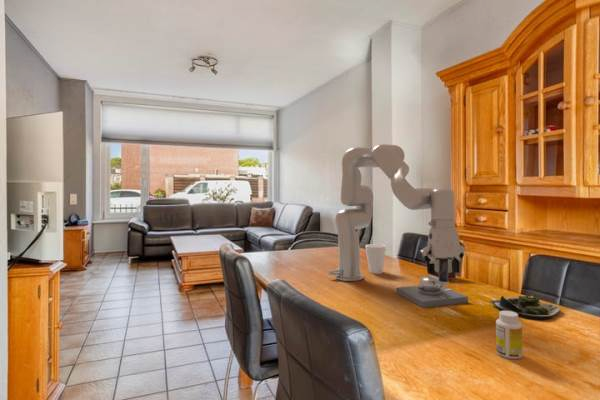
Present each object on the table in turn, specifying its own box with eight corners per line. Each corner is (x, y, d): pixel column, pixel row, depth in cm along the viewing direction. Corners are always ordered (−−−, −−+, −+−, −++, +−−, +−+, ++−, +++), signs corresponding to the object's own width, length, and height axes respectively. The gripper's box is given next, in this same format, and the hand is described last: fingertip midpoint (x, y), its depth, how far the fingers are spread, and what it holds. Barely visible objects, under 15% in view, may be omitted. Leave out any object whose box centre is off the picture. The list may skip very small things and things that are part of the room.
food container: (454, 275, 164) (454, 253, 164) (459, 278, 158) (458, 256, 157) (426, 275, 165) (426, 253, 165) (430, 278, 159) (430, 256, 159)
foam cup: (362, 271, 176) (361, 245, 175) (377, 269, 180) (377, 243, 179) (374, 275, 167) (373, 247, 167) (390, 273, 171) (389, 246, 171)
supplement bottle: (524, 353, 88) (524, 312, 87) (519, 362, 84) (519, 319, 83) (499, 347, 91) (499, 307, 91) (493, 355, 87) (492, 313, 87)
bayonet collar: (414, 287, 135) (413, 251, 135) (435, 285, 137) (435, 249, 137) (434, 298, 123) (434, 257, 122) (457, 295, 125) (457, 255, 124)
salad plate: (513, 297, 132) (513, 285, 131) (570, 310, 117) (570, 296, 116) (484, 308, 121) (484, 295, 121) (543, 324, 106) (543, 309, 106)
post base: (422, 307, 122) (422, 299, 122) (396, 292, 140) (396, 285, 140) (467, 302, 126) (467, 294, 126) (437, 288, 144) (437, 281, 144)
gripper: (426, 226, 119) (427, 277, 119) (471, 224, 123) (472, 273, 123) (414, 224, 126) (415, 272, 127) (457, 222, 130) (457, 268, 131)
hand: (443, 273), depth 125 cm, fingers open, 9 cm apart
